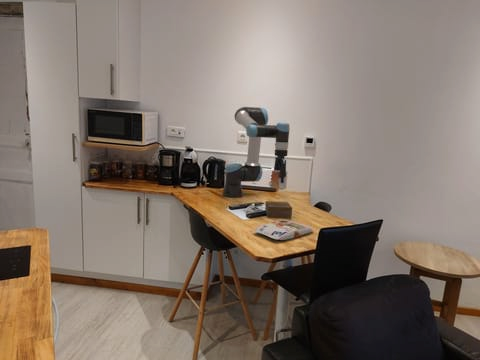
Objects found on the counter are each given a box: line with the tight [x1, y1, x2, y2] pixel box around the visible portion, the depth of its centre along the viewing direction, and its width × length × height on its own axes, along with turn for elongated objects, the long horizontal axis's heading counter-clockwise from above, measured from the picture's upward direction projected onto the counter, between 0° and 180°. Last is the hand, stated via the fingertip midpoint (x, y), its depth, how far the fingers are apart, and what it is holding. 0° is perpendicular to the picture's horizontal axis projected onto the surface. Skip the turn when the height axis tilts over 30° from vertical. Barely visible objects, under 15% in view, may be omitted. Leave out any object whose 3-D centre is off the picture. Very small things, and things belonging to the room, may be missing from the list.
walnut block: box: [264, 200, 293, 220], centre depth 219 cm, size 14×14×7 cm
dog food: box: [253, 219, 315, 241], centre depth 185 cm, size 30×18×5 cm, turn 133°
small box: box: [270, 169, 288, 191], centre depth 216 cm, size 8×6×10 cm
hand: (278, 186), depth 216 cm, fingers closed on small box, 9 cm apart
